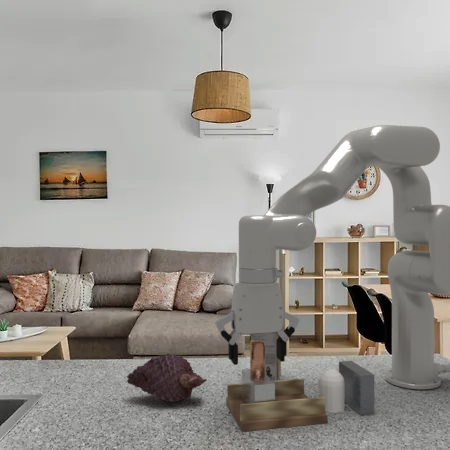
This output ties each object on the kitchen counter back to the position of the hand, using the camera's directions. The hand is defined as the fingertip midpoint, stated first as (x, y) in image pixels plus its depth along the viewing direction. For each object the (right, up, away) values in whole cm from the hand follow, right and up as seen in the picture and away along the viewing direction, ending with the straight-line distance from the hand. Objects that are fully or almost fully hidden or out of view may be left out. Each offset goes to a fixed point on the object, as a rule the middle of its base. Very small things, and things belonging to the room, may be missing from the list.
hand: (257, 361), depth 100 cm
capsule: (+16, -11, +4) cm, 19 cm away
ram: (0, -9, 0) cm, 9 cm away
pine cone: (-19, -11, +8) cm, 24 cm away
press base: (+3, -11, +1) cm, 11 cm away
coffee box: (+4, -11, +21) cm, 24 cm away
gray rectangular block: (+21, -11, +5) cm, 24 cm away
